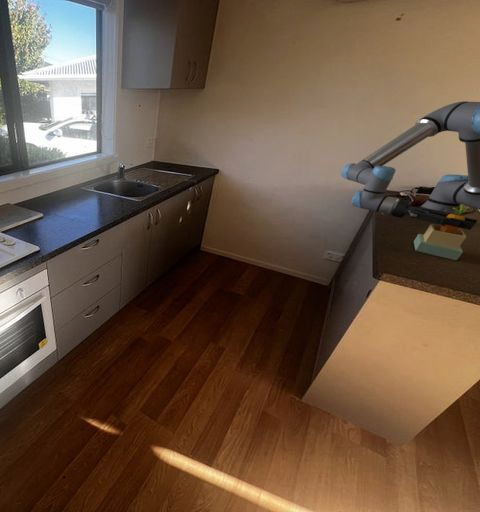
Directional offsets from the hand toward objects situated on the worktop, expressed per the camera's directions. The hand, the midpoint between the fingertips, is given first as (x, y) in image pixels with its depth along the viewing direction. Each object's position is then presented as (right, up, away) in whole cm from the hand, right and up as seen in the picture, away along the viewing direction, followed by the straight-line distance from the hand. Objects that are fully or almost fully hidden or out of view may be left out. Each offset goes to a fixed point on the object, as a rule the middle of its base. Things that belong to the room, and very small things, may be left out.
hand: (473, 225), depth 112 cm
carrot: (-3, -6, +8) cm, 11 cm away
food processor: (-3, -10, +10) cm, 15 cm away
